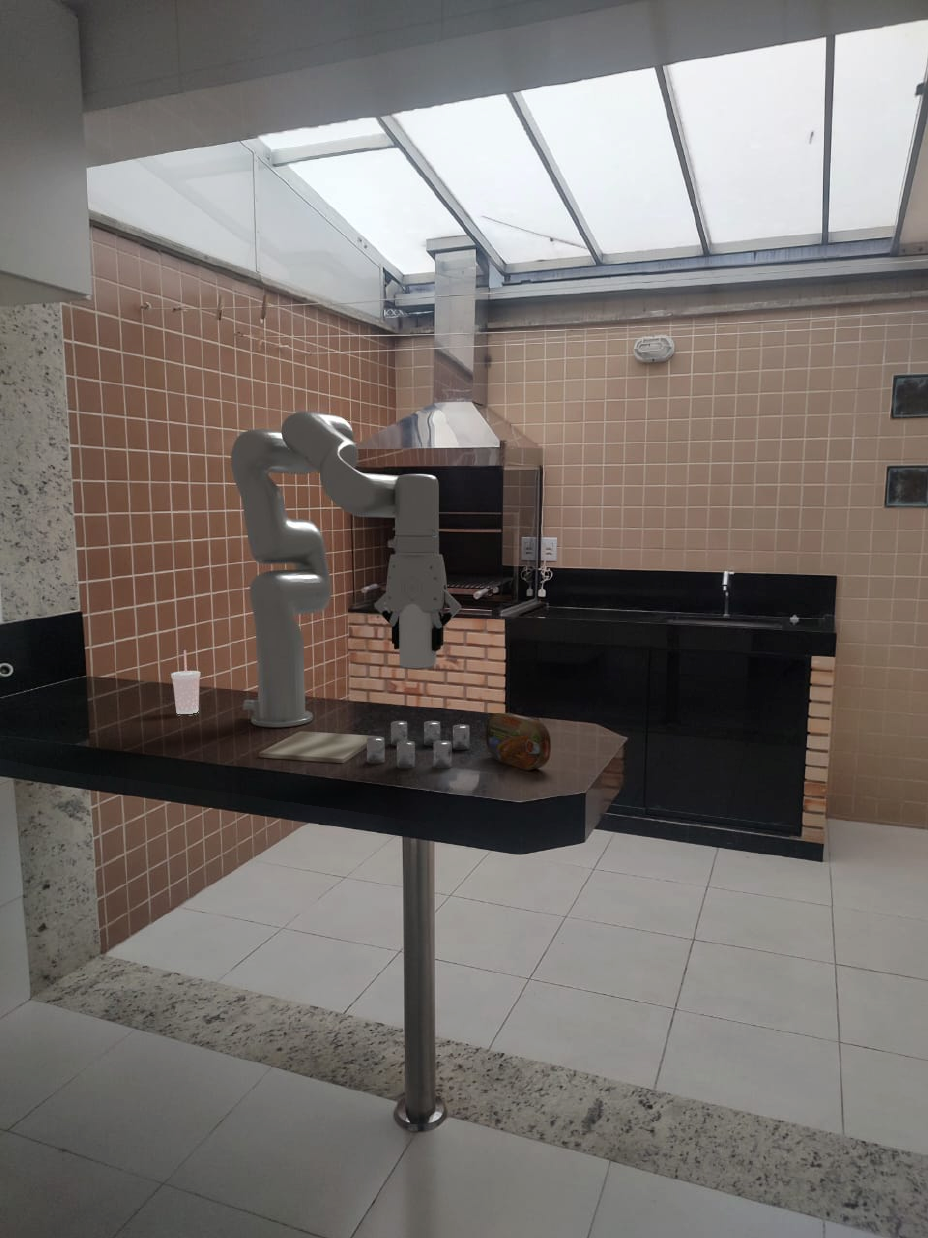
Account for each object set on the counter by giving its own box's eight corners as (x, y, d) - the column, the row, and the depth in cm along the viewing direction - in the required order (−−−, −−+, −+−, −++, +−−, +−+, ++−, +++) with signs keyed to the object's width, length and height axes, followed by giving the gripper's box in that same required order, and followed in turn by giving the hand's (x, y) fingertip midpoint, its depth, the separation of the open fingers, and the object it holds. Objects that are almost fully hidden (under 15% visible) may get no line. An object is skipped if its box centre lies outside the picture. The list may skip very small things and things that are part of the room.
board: (259, 757, 143) (259, 752, 143) (300, 735, 158) (300, 731, 158) (343, 763, 139) (343, 758, 139) (377, 740, 154) (377, 736, 154)
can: (401, 662, 146) (401, 596, 145) (437, 663, 146) (437, 596, 145) (397, 669, 140) (396, 599, 138) (434, 669, 140) (434, 600, 138)
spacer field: (361, 765, 138) (360, 742, 137) (397, 739, 155) (396, 718, 154) (446, 771, 134) (446, 748, 133) (473, 744, 151) (473, 723, 151)
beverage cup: (177, 710, 181) (175, 648, 180) (205, 710, 182) (203, 648, 180) (169, 716, 175) (166, 652, 174) (197, 716, 176) (195, 652, 174)
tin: (484, 755, 143) (483, 709, 143) (498, 753, 145) (498, 706, 144) (539, 776, 131) (539, 725, 130) (554, 773, 133) (554, 722, 132)
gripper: (362, 546, 139) (363, 650, 141) (459, 547, 135) (459, 654, 137) (378, 545, 146) (378, 644, 148) (470, 546, 142) (470, 648, 144)
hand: (417, 648), depth 142 cm, fingers closed on can, 6 cm apart
